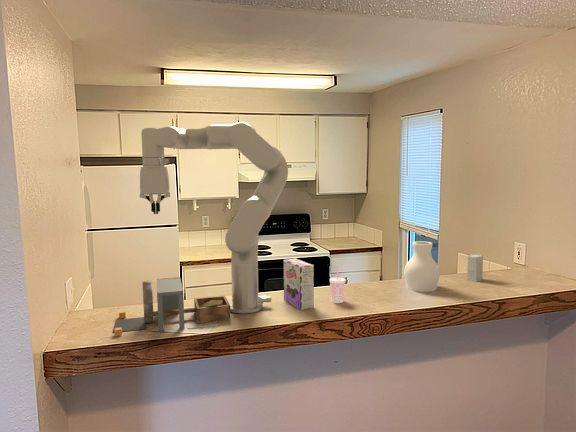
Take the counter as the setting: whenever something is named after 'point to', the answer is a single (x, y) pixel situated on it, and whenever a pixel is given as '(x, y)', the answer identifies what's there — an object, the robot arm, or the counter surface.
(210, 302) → the shard
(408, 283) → the vase
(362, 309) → the counter surface
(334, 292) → the beverage cup
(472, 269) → the skincare box
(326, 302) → the counter surface
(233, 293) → the robot arm
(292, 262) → the candy box
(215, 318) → the wooden tray with post
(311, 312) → the counter surface
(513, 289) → the counter surface
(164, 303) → the tunnel
